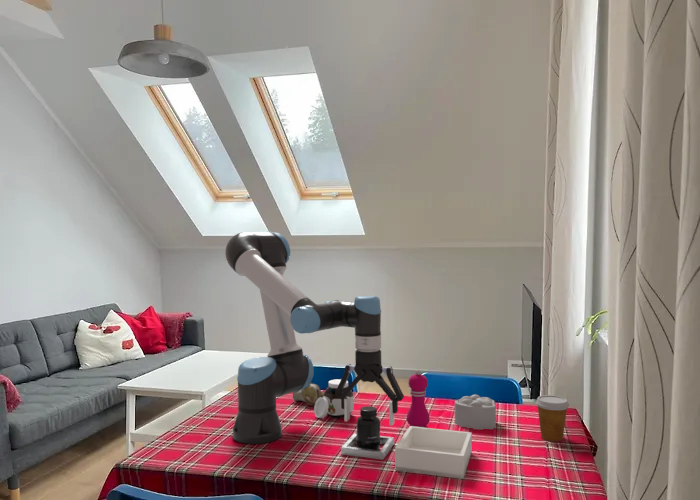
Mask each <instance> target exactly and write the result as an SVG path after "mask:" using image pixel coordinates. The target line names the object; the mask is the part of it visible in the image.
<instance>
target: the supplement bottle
mask: <svg viewBox="0 0 700 500" xmlns="http://www.w3.org/2000/svg"><path fill="white" fill-rule="evenodd" d="M359 415H360V416H359V417H358V418H357V420H356V433H357V442H356V448H364V449H372V450H380V446H381V444H380V436H381V420H380V418H379V417H378V409H377V407H376V406H370V405H368V406H367V405H366V406H365V405H364V406H362V407H360V412H359Z"/></svg>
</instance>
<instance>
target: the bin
mask: <svg viewBox="0 0 700 500" xmlns="http://www.w3.org/2000/svg"><path fill="white" fill-rule="evenodd" d="M408 426H409V425H408ZM472 435H473V434H472V431H471V432H468V431H462V430H451V429H441V428H431V427H428V428H424V427H415V426H409V428H408V427H407V429H406V431H405V432H404V433H403V436H402V437H401V438H400V440H399V441H398V443H397V445H396V446H395V448H394V470H395V471H398V472H399V471H400V472H408V473H413V472H414V474H423V475H430V476H436V475H437V477H445V478H451V479H452V478H453V479H461V480H464V478H465V476H466V472H467V469H468V465H469V463H470V459H471V457H472V447H473V446H472V445H473V443H472V442H473V440H472V438H473V437H472Z"/></svg>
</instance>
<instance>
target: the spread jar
mask: <svg viewBox="0 0 700 500" xmlns="http://www.w3.org/2000/svg"><path fill="white" fill-rule="evenodd" d="M341 379H342V378H340V379H335V378H334V379H331V380H329V381H328V387H326V389H325V391H323V392H324V396H323V397H320V398H318V399H317V401H316V403H315V405H313V406H314V408H313V409H314V410H313V412H314V416H315V418H319V419H323V418H324V417H326V416H328V417H329V418H331V419H332V418H333V419H345V418H344V409H342V408H341V398H340V397H339V396H336V395H335V392H336V390H337V388H338V386H339V383H340V381H341ZM348 386H349V381H348V380H347V382H346V384H345V386H344V388H343V390H342V392H344V391H345V390H346V389H347V388H348ZM352 390H353V389H352ZM352 390H351V391H350V393H349V394H348V395H347V397H350V415H351V414H352V412H353V411H354V405H355V404H354V403H355V402H354V401H355V400H354V399H355V398H354V393H353V391H352Z"/></svg>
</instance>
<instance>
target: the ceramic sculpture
mask: <svg viewBox="0 0 700 500" xmlns="http://www.w3.org/2000/svg"><path fill="white" fill-rule="evenodd" d="M324 392H325V391H322V390H321V388H320V386H319V385H318V384H315V383H313V382H312V381H311V382H310V384H309V385H308V386H307V387H306V388H304V389H302V390H300V391H298V392H293V393H292V399H293V401H294V402H300V401H302V402H304V403H306V404H308V405H309V406H315V403H316V401H317V399H318V398H320V397H323V396H324Z"/></svg>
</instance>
